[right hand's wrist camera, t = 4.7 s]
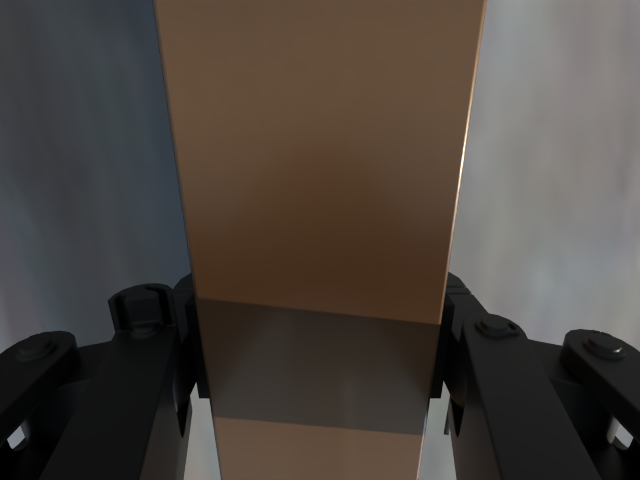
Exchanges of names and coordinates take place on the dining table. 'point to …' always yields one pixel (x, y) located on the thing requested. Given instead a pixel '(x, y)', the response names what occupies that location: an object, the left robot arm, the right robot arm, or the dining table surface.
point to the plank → (319, 219)
